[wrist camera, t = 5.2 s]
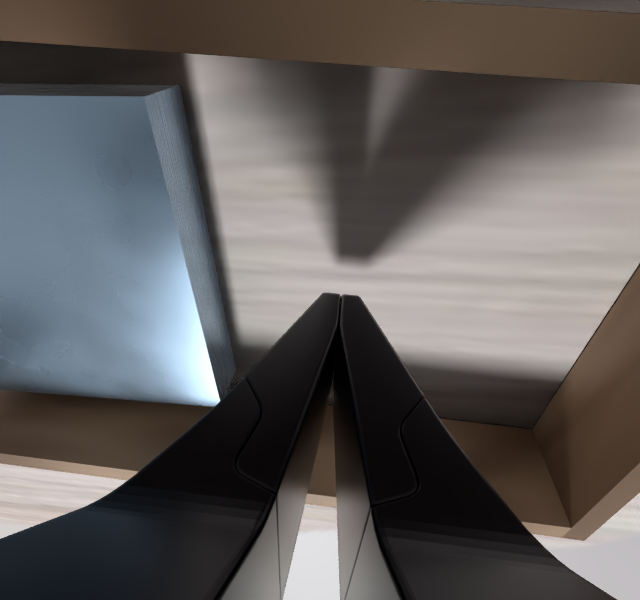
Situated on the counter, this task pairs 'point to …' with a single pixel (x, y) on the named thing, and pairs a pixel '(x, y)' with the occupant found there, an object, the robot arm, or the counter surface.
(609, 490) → the open box
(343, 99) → the counter surface
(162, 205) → the cover plate
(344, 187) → the counter surface
